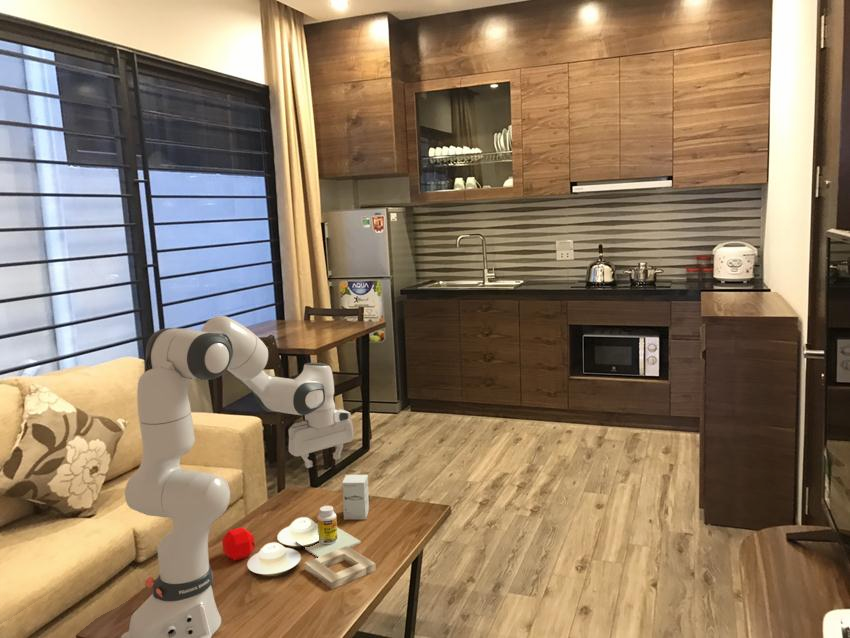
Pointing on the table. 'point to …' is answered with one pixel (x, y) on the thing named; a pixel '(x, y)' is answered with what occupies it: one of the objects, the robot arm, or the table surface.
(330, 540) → the supplement bottle
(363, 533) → the table surface
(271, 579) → the table surface
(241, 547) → the ball
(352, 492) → the supplement box
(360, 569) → the birch caddy
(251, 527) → the table surface
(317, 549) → the sage tile
